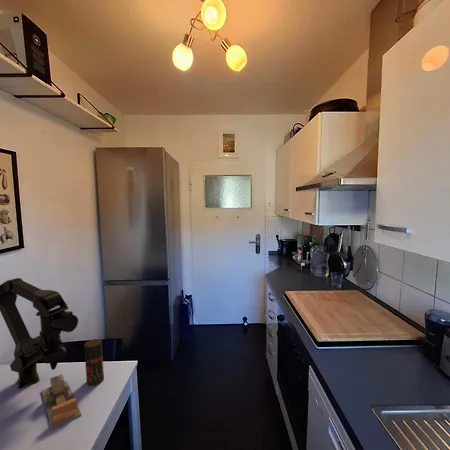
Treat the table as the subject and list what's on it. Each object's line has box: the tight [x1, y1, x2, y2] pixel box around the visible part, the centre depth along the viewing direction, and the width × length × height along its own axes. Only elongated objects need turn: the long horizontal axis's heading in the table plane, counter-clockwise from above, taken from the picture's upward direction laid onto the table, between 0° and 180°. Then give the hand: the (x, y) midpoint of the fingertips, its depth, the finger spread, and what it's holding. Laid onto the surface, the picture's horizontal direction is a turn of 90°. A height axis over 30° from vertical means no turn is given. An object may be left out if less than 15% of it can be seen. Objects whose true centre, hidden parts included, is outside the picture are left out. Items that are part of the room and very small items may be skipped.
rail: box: [41, 381, 82, 430], centre depth 91 cm, size 22×8×5 cm, turn 41°
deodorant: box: [83, 338, 105, 387], centre depth 102 cm, size 6×6×15 cm
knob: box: [46, 373, 70, 402], centre depth 94 cm, size 4×6×6 cm, turn 131°
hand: (53, 369), depth 99 cm, fingers closed
